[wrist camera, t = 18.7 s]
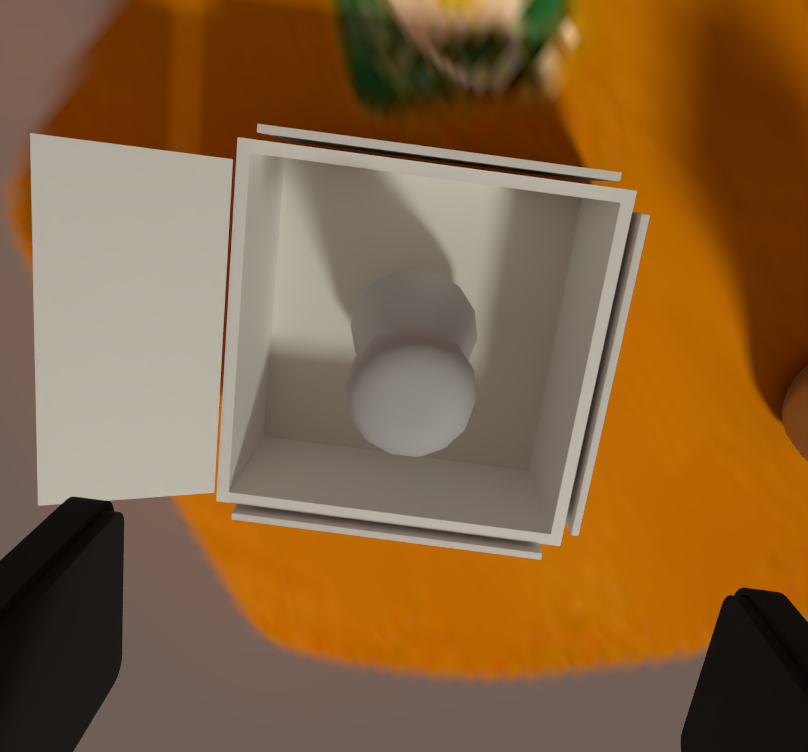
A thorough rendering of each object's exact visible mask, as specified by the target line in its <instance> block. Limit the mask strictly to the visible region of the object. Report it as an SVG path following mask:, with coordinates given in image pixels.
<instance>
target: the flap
mask: <svg viewBox="0 0 808 752" xmlns="http://www.w3.org/2000/svg"><path fill="white" fill-rule="evenodd" d="M30 157H31V202H32V248H33V293H34V336H35V337H34V338H35V382H36V427H37V469H38V470H37V474H38V506H40V505H53V504H62V503H63V502H65V501H66V500H67V499H68V498H70V497H82V498H89V499H97V500H104V501H107V500H121V499H134V498H147V497H161V496H175V495H189V494H202V493H214V485H215V468H216V450H217V432H218V415H219V397H220V379H221V362H222V344H223V326H224V309H225V291H226V273H227V256H228V238H229V220H230V203H231V185H232V167H233V159H228V158H220V157H212V156H204V155H197V154H189V153H181V152H174V151H166V150H158V149H150V148H143V147H135V146H127V145H120V144H112V143H104V142H96V141H89V140H81V139H73V138H66V137H58V136H50V135H42V134H35V133H30Z"/></svg>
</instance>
